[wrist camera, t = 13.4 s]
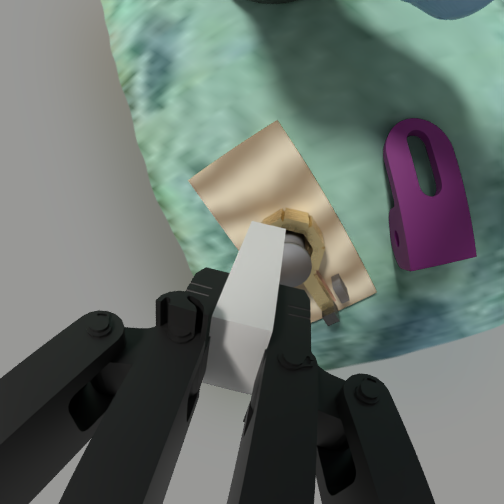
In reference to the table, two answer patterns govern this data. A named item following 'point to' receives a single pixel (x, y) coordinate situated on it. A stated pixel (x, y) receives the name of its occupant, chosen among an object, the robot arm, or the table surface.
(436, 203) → the mounting bracket
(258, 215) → the base
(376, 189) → the table surface
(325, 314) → the collar
